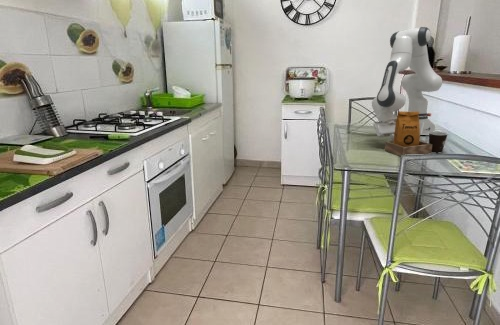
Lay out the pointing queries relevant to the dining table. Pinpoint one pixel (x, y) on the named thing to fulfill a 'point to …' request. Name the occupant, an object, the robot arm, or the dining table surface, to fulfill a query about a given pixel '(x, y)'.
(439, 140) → the coffee mug
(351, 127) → the dining table surface
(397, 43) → the robot arm
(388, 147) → the frame
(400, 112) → the coffee package
